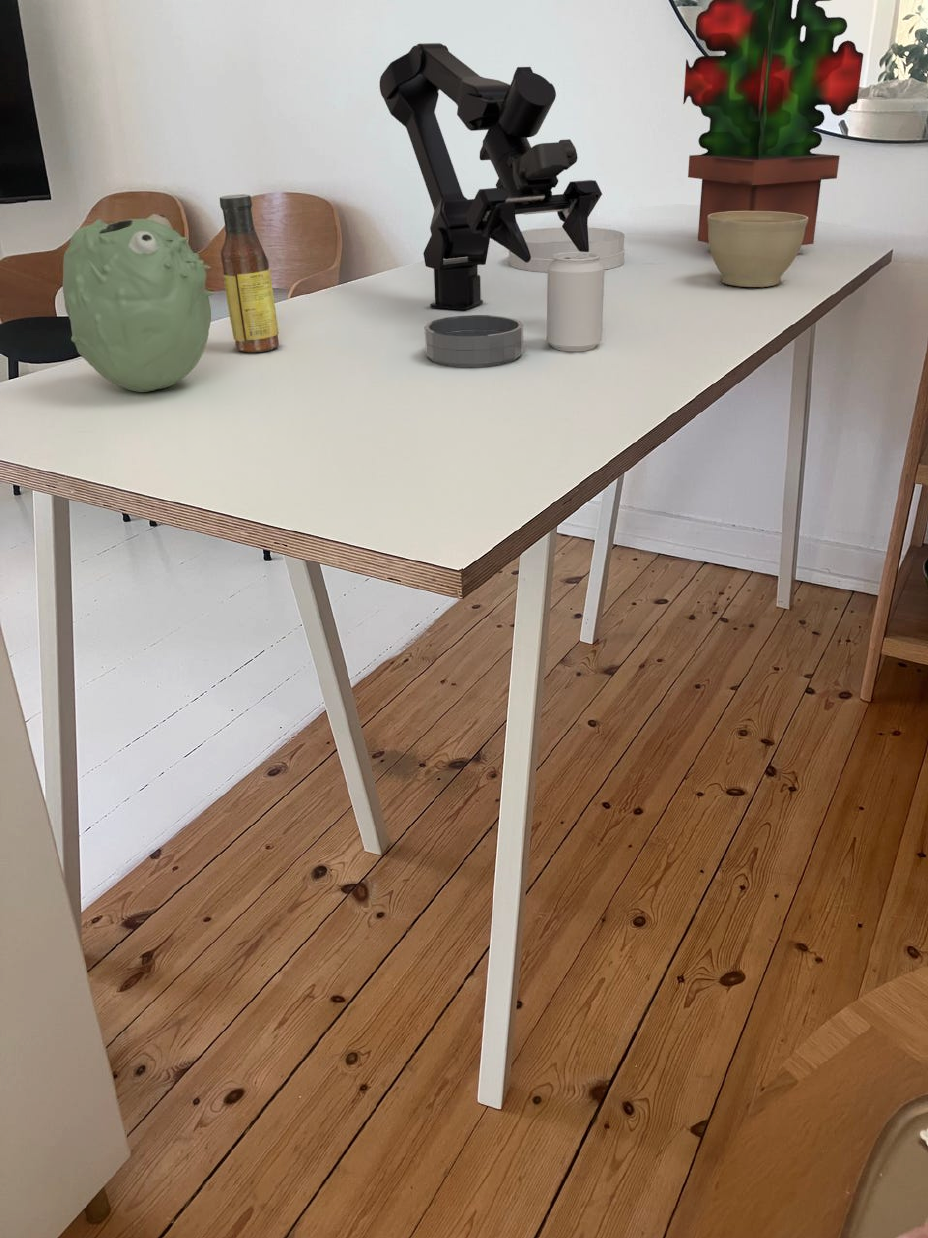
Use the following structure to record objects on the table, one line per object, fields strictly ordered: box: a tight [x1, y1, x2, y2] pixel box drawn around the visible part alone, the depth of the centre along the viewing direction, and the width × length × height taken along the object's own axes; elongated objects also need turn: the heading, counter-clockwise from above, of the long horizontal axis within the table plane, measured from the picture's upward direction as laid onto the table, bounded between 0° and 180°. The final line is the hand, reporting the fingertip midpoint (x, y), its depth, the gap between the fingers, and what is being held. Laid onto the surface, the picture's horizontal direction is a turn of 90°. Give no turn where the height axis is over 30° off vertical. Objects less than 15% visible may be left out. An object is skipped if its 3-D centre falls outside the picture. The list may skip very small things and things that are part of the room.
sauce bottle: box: [219, 193, 280, 353], centre depth 142 cm, size 7×6×20 cm
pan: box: [423, 314, 524, 368], centre depth 139 cm, size 13×13×4 cm
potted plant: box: [682, 0, 864, 246], centre depth 198 cm, size 22×22×45 cm
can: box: [546, 252, 605, 352], centre depth 141 cm, size 8×8×12 cm
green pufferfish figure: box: [62, 213, 215, 393], centre depth 125 cm, size 16×19×20 cm
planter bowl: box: [708, 211, 808, 288], centre depth 178 cm, size 16×16×11 cm
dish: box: [508, 226, 626, 273], centre depth 203 cm, size 22×22×5 cm
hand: (558, 256), depth 142 cm, fingers open, 9 cm apart
